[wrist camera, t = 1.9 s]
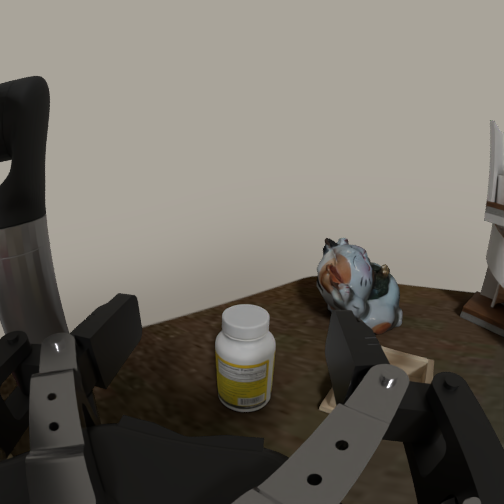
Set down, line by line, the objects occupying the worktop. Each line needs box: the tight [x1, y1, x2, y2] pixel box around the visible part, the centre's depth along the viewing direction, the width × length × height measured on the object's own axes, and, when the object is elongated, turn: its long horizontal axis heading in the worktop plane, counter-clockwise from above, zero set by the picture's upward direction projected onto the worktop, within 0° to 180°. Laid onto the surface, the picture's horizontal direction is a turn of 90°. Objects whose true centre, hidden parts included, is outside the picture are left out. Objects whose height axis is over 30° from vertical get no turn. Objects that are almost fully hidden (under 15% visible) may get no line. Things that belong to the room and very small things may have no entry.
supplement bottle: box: [215, 304, 276, 412], centre depth 25 cm, size 5×5×10 cm
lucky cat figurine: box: [317, 238, 402, 335], centre depth 41 cm, size 15×12×14 cm
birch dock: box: [319, 346, 434, 414], centre depth 25 cm, size 11×10×3 cm
